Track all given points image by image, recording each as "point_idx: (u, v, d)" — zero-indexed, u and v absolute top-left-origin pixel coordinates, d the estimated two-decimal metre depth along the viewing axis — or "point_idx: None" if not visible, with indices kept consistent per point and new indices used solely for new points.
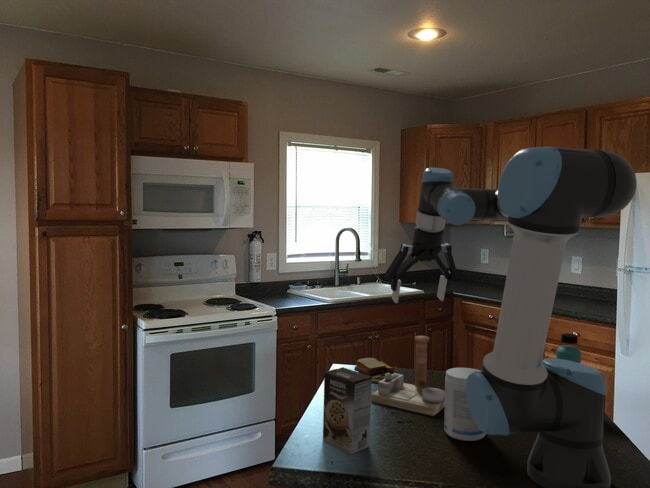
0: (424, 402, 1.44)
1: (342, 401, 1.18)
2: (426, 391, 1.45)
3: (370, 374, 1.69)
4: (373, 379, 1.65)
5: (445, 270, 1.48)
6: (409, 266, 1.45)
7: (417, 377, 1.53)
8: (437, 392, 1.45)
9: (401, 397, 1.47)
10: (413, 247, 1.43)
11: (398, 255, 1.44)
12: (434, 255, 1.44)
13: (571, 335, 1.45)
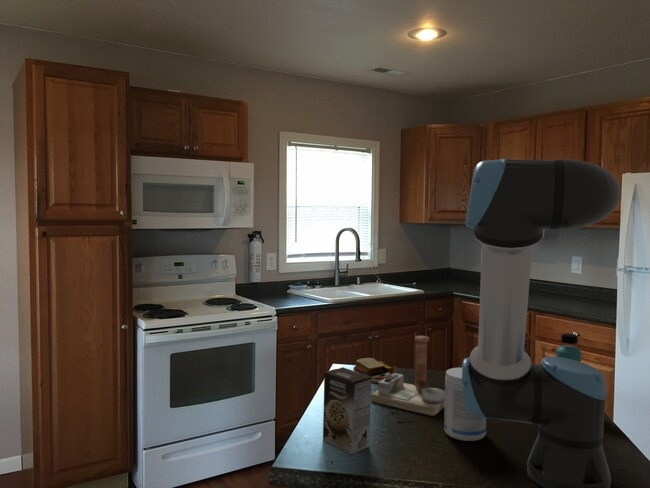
0: (424, 402, 1.44)
1: (342, 401, 1.18)
2: (426, 391, 1.45)
3: (369, 374, 1.69)
4: (372, 379, 1.65)
5: None
6: None
7: (417, 377, 1.53)
8: (437, 392, 1.45)
9: (401, 397, 1.47)
10: None
11: None
12: None
13: (571, 335, 1.45)
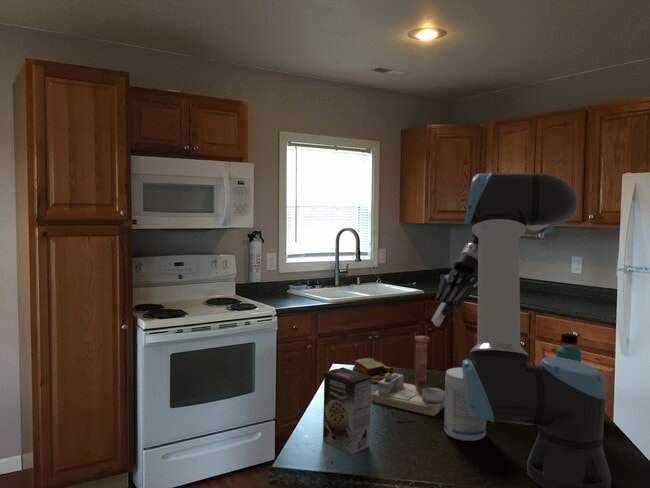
0: (424, 402, 1.44)
1: (342, 401, 1.18)
2: (426, 391, 1.45)
3: (369, 374, 1.68)
4: (372, 379, 1.65)
5: None
6: None
7: (417, 377, 1.53)
8: (437, 392, 1.45)
9: (401, 397, 1.47)
10: None
11: (469, 289, 1.58)
12: None
13: (571, 335, 1.45)
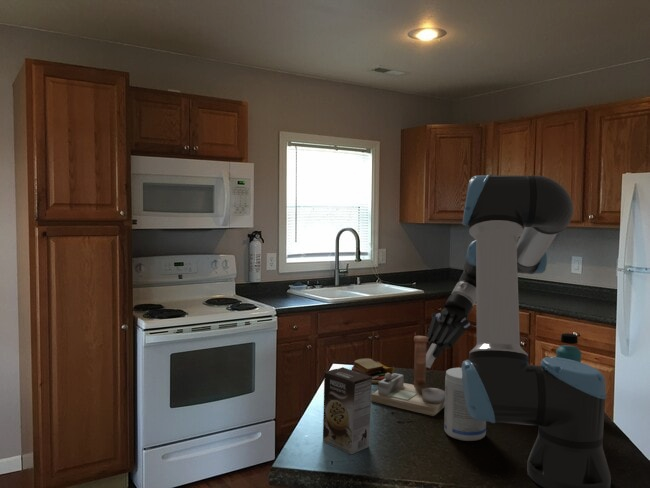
0: (424, 402, 1.44)
1: (342, 401, 1.18)
2: (426, 391, 1.45)
3: None
4: None
5: None
6: None
7: (416, 377, 1.53)
8: (437, 392, 1.45)
9: (401, 397, 1.47)
10: None
11: (460, 330, 1.57)
12: None
13: (571, 335, 1.45)
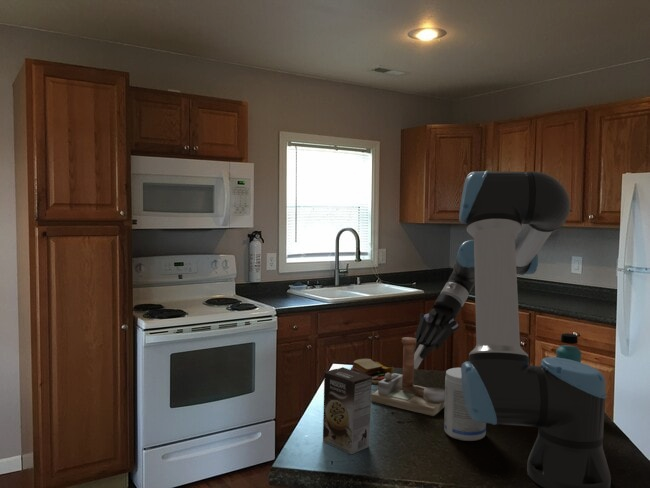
0: (424, 402, 1.44)
1: (342, 401, 1.18)
2: (429, 392, 1.44)
3: None
4: None
5: None
6: None
7: (407, 380, 1.50)
8: (439, 391, 1.45)
9: (401, 397, 1.47)
10: (454, 320, 1.58)
11: (448, 331, 1.55)
12: None
13: (571, 335, 1.45)
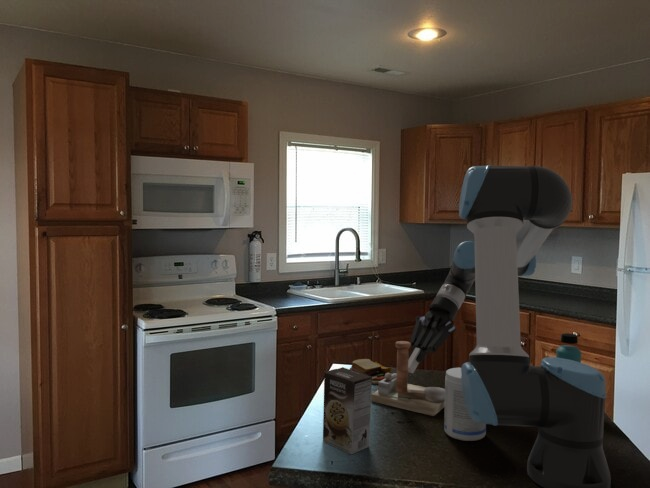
0: (424, 402, 1.44)
1: (342, 401, 1.18)
2: (434, 392, 1.44)
3: None
4: None
5: None
6: None
7: (404, 385, 1.46)
8: (438, 389, 1.47)
9: (401, 397, 1.47)
10: None
11: (445, 333, 1.51)
12: None
13: (571, 335, 1.45)
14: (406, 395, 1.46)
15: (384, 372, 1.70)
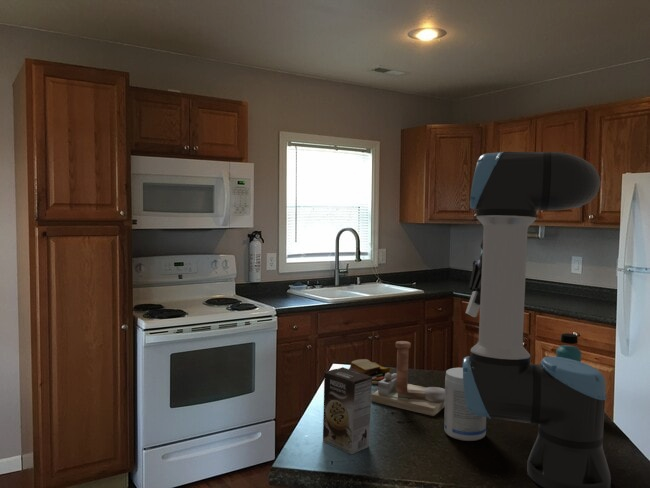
0: (424, 402, 1.44)
1: (342, 401, 1.18)
2: (434, 392, 1.44)
3: None
4: None
5: None
6: None
7: (404, 385, 1.46)
8: (438, 389, 1.47)
9: (401, 397, 1.47)
10: None
11: None
12: None
13: (571, 335, 1.45)
14: (406, 395, 1.46)
15: (383, 372, 1.70)
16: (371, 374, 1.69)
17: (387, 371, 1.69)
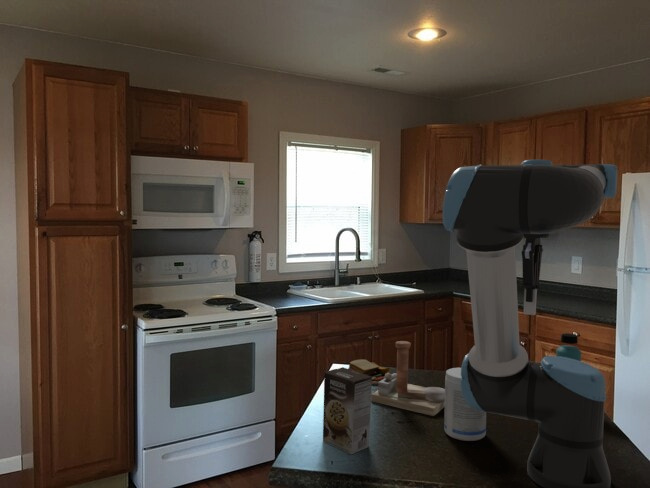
0: (424, 402, 1.44)
1: (342, 401, 1.18)
2: (434, 392, 1.44)
3: None
4: None
5: (537, 276, 1.40)
6: (535, 268, 1.38)
7: (404, 385, 1.46)
8: (438, 389, 1.47)
9: (401, 397, 1.47)
10: (532, 246, 1.35)
11: (525, 263, 1.35)
12: (541, 250, 1.39)
13: (571, 335, 1.45)
14: (406, 395, 1.46)
15: (382, 372, 1.70)
16: (370, 374, 1.69)
17: (386, 371, 1.69)
